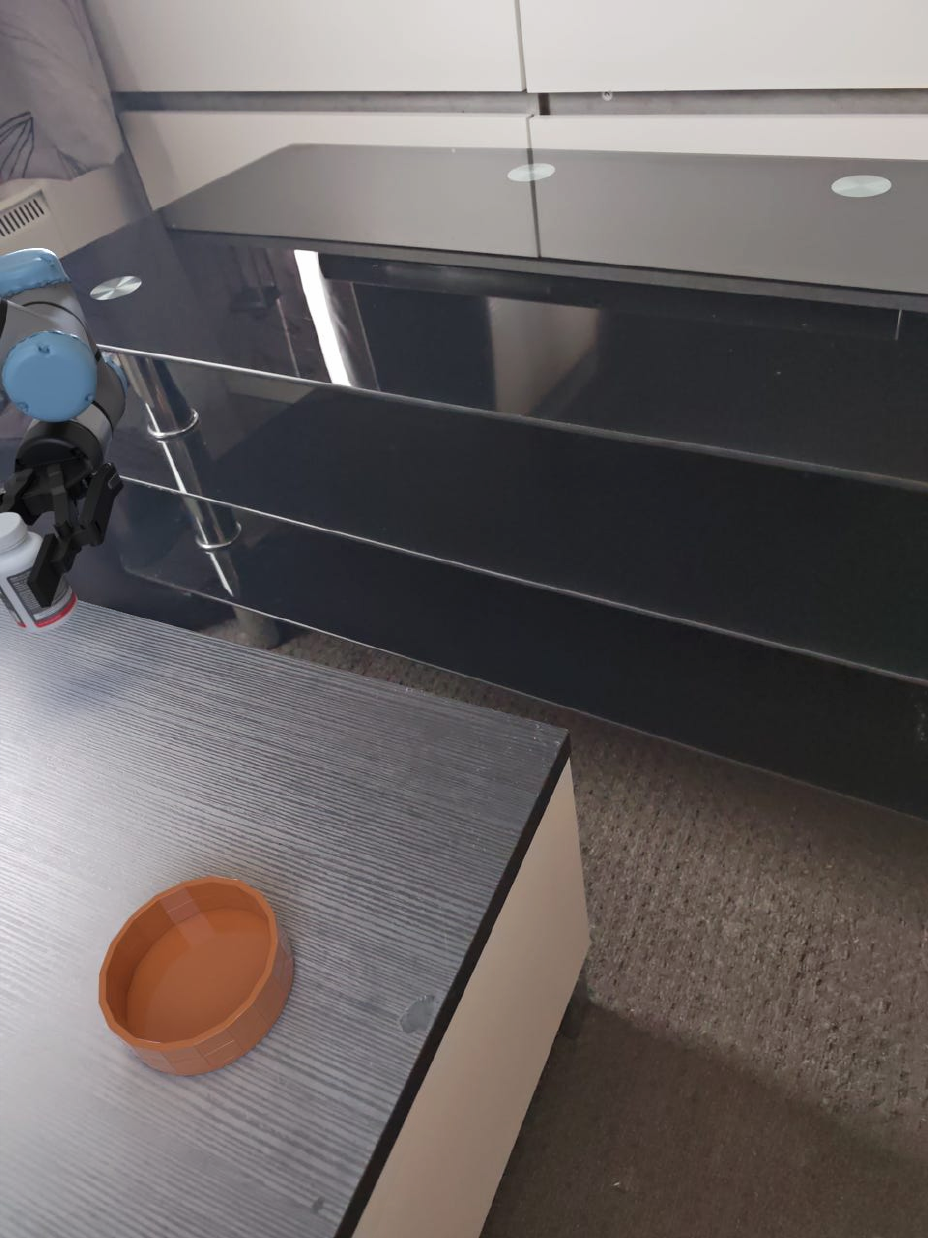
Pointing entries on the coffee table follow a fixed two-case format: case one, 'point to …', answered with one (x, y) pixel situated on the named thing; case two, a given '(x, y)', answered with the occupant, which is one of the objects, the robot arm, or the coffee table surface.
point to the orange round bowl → (197, 976)
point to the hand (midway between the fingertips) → (1, 601)
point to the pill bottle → (3, 568)
